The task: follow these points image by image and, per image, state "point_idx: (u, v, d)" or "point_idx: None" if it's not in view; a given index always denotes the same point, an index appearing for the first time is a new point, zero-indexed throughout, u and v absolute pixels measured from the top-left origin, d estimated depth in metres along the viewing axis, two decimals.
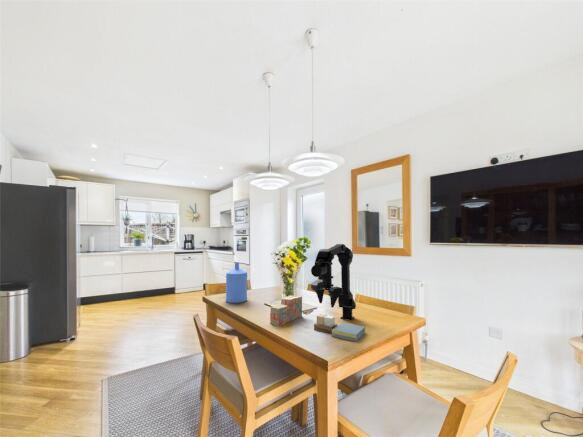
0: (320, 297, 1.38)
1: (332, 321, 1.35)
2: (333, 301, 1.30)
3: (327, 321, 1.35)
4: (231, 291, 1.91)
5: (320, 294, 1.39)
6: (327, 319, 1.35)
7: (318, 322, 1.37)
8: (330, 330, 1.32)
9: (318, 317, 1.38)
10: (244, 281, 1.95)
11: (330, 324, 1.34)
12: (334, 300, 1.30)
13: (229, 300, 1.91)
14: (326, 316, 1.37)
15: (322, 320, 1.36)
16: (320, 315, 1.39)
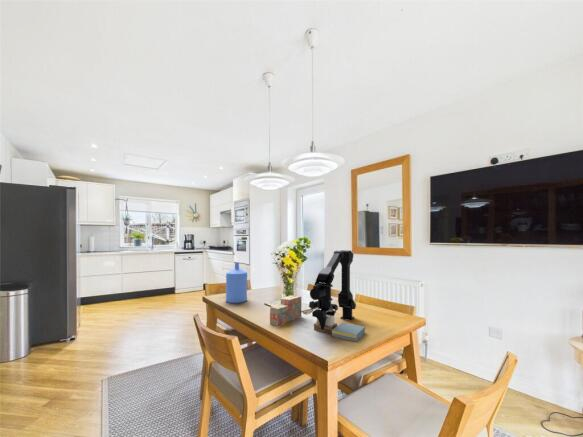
0: None
1: (332, 321, 1.35)
2: (321, 323, 1.33)
3: (327, 320, 1.35)
4: (231, 291, 1.91)
5: None
6: (327, 319, 1.35)
7: (318, 322, 1.37)
8: (330, 330, 1.32)
9: None
10: (244, 281, 1.95)
11: (330, 324, 1.34)
12: (322, 322, 1.33)
13: (229, 300, 1.91)
14: None
15: None
16: None
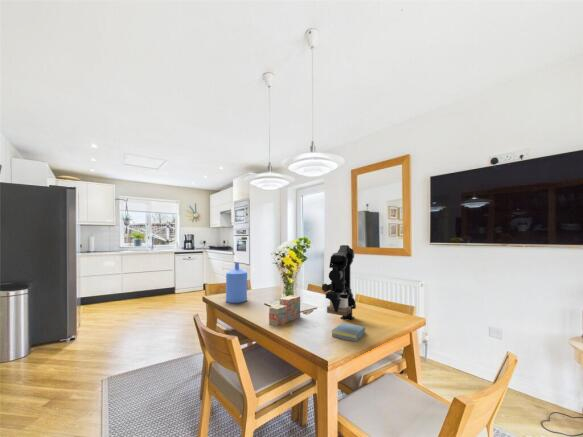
0: None
1: (345, 303, 1.31)
2: (334, 305, 1.30)
3: (341, 303, 1.31)
4: (231, 291, 1.91)
5: None
6: (340, 301, 1.31)
7: (331, 304, 1.34)
8: (344, 312, 1.28)
9: None
10: (244, 281, 1.95)
11: (344, 306, 1.30)
12: (335, 305, 1.30)
13: (229, 300, 1.91)
14: None
15: None
16: None
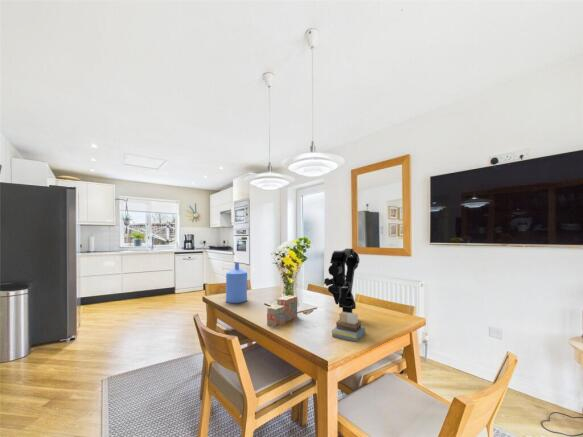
0: (343, 295, 1.49)
1: (356, 318, 1.28)
2: (335, 298, 1.41)
3: (351, 318, 1.28)
4: (231, 291, 1.91)
5: (343, 292, 1.50)
6: (350, 316, 1.28)
7: (341, 320, 1.31)
8: (354, 328, 1.25)
9: (341, 314, 1.31)
10: (244, 281, 1.95)
11: (354, 322, 1.27)
12: (336, 298, 1.40)
13: (229, 300, 1.91)
14: (349, 313, 1.31)
15: (345, 318, 1.30)
16: (343, 312, 1.32)
